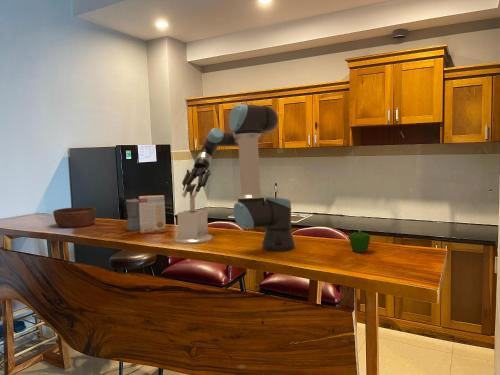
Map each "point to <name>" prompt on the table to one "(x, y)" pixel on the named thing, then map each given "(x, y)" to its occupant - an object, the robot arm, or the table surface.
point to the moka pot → (132, 214)
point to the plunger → (192, 200)
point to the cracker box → (152, 214)
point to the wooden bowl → (75, 217)
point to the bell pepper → (359, 241)
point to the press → (192, 228)
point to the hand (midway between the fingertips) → (188, 196)
